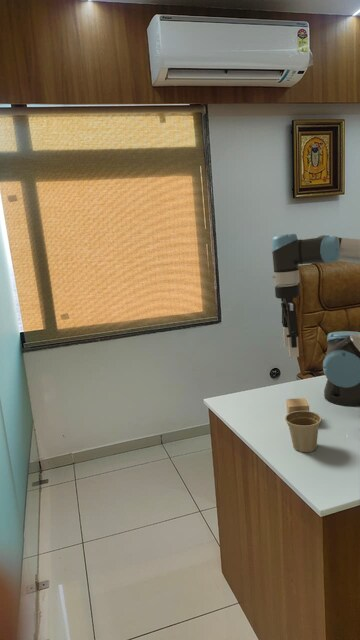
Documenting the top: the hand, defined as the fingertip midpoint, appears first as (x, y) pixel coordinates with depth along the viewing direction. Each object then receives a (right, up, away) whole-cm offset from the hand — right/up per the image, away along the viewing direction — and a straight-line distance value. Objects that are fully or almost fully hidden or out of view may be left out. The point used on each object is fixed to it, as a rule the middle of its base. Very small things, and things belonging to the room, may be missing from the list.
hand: (291, 351), depth 133 cm
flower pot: (-2, -25, -20) cm, 32 cm away
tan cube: (+1, -21, -4) cm, 22 cm away
